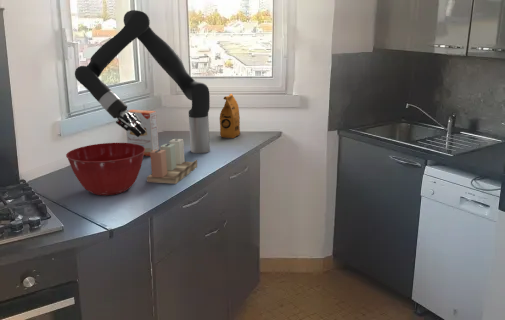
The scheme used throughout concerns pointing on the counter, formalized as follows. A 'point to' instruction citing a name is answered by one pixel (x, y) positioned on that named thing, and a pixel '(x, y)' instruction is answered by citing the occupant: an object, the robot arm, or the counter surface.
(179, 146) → the grey rectangular block
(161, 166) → the key
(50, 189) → the counter surface
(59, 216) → the counter surface
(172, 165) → the grey green block
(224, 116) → the coffee package
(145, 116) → the cracker box
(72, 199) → the counter surface
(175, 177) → the board
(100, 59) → the robot arm
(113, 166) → the mixing bowl
